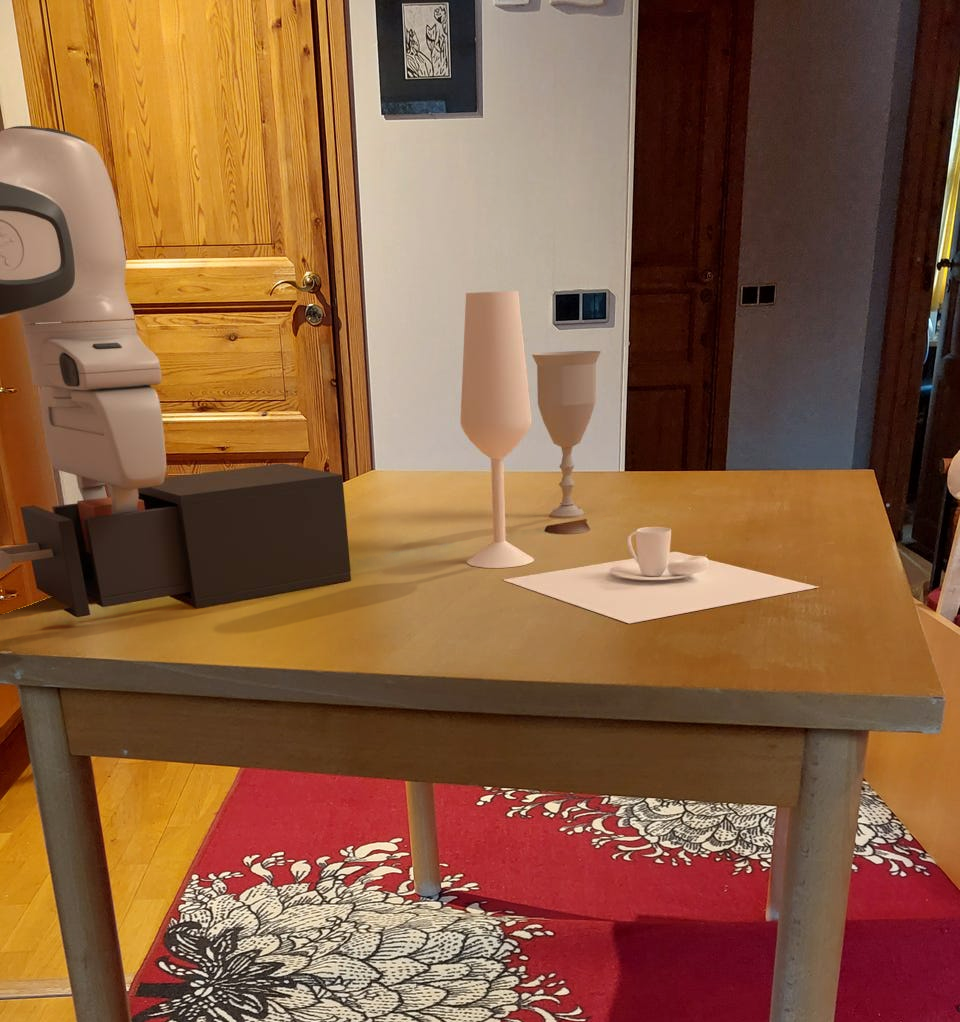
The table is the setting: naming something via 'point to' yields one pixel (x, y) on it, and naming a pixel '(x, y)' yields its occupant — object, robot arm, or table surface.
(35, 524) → the dark grey drawer
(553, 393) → the chalice
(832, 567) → the table surface
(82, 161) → the robot arm
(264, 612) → the table surface
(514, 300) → the champagne flute
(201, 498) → the drawer cabinet
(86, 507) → the block
